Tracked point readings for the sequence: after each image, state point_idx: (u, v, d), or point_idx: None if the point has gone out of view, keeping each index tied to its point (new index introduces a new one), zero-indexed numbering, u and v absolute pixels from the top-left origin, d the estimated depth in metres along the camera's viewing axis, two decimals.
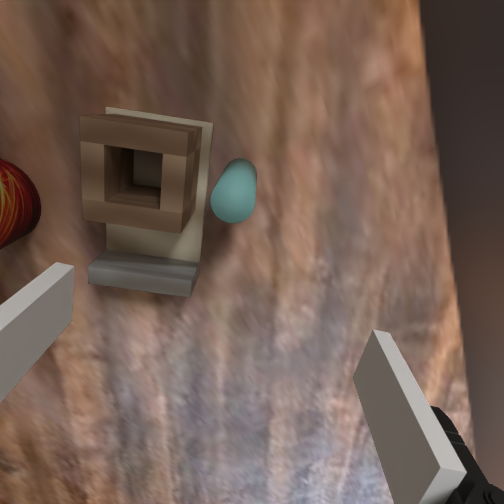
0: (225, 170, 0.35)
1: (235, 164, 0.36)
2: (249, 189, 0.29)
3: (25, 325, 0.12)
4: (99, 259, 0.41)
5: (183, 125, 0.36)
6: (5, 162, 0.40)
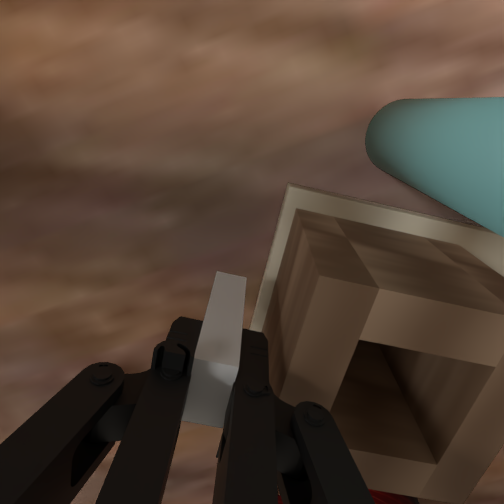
0: (407, 178, 0.14)
1: (393, 149, 0.15)
2: None
3: None
4: None
5: (290, 249, 0.18)
6: None
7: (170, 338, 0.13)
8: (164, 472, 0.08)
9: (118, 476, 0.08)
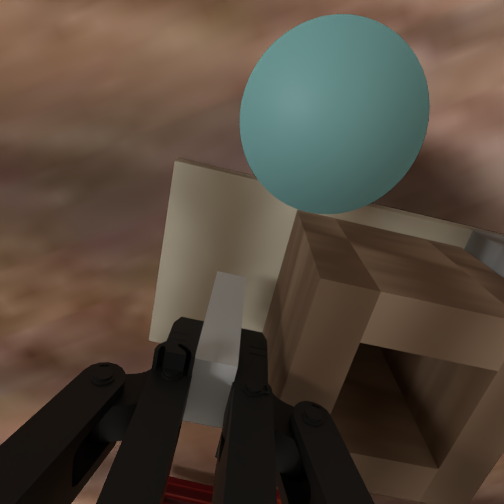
0: None
1: None
2: (289, 38, 0.07)
3: None
4: None
5: (291, 250, 0.18)
6: None
7: (171, 338, 0.13)
8: (165, 472, 0.08)
9: (119, 476, 0.08)
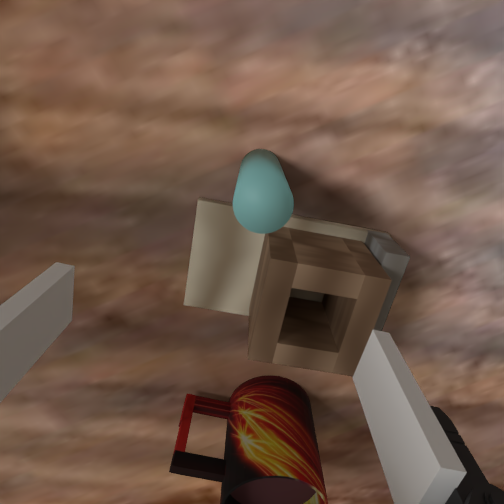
0: None
1: None
2: (246, 181, 0.21)
3: (25, 325, 0.12)
4: None
5: (264, 247, 0.33)
6: (233, 395, 0.42)
7: None
8: None
9: None
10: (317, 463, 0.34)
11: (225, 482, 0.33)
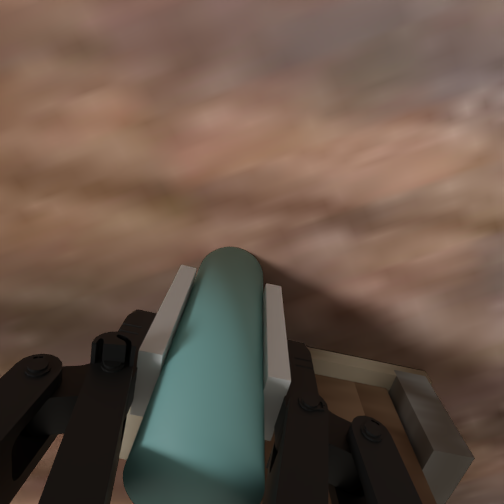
0: None
1: None
2: (153, 442, 0.09)
3: (180, 318, 0.15)
4: None
5: None
6: None
7: (122, 331, 0.13)
8: (111, 463, 0.08)
9: (62, 474, 0.08)
10: None
11: None
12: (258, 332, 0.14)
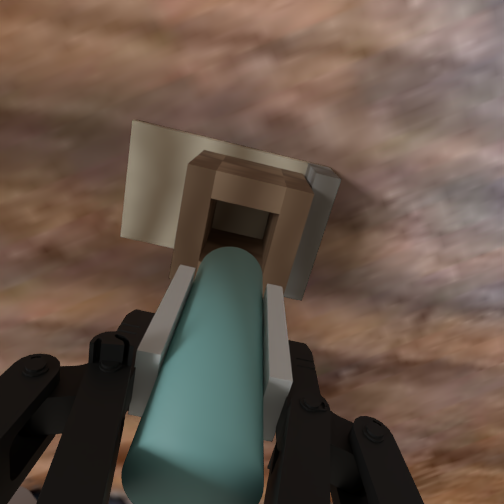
0: None
1: None
2: (151, 441, 0.09)
3: (178, 318, 0.15)
4: None
5: None
6: None
7: (120, 331, 0.13)
8: (109, 463, 0.08)
9: (60, 474, 0.08)
10: None
11: None
12: (257, 332, 0.14)
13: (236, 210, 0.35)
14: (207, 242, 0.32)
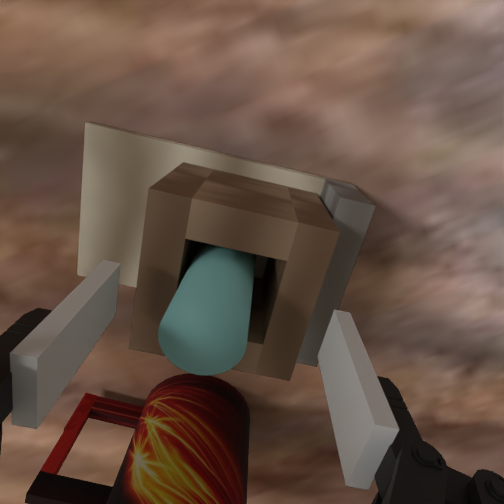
0: None
1: None
2: (177, 307, 0.14)
3: (85, 317, 0.13)
4: None
5: None
6: (148, 397, 0.32)
7: (10, 331, 0.12)
8: None
9: None
10: (236, 497, 0.24)
11: None
12: (249, 266, 0.19)
13: None
14: None
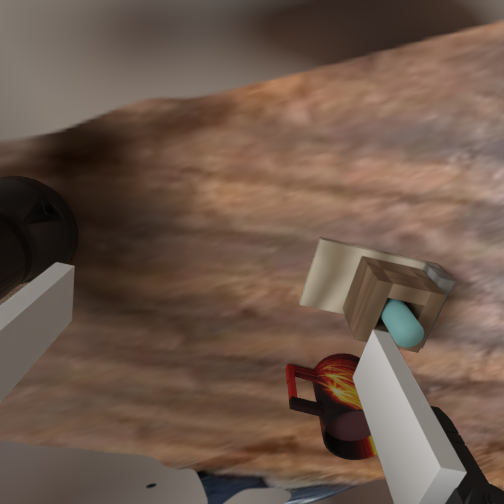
0: None
1: None
2: (403, 324, 0.43)
3: (25, 325, 0.12)
4: None
5: (361, 270, 0.52)
6: (317, 366, 0.61)
7: None
8: None
9: None
10: None
11: (326, 415, 0.52)
12: None
13: None
14: None
